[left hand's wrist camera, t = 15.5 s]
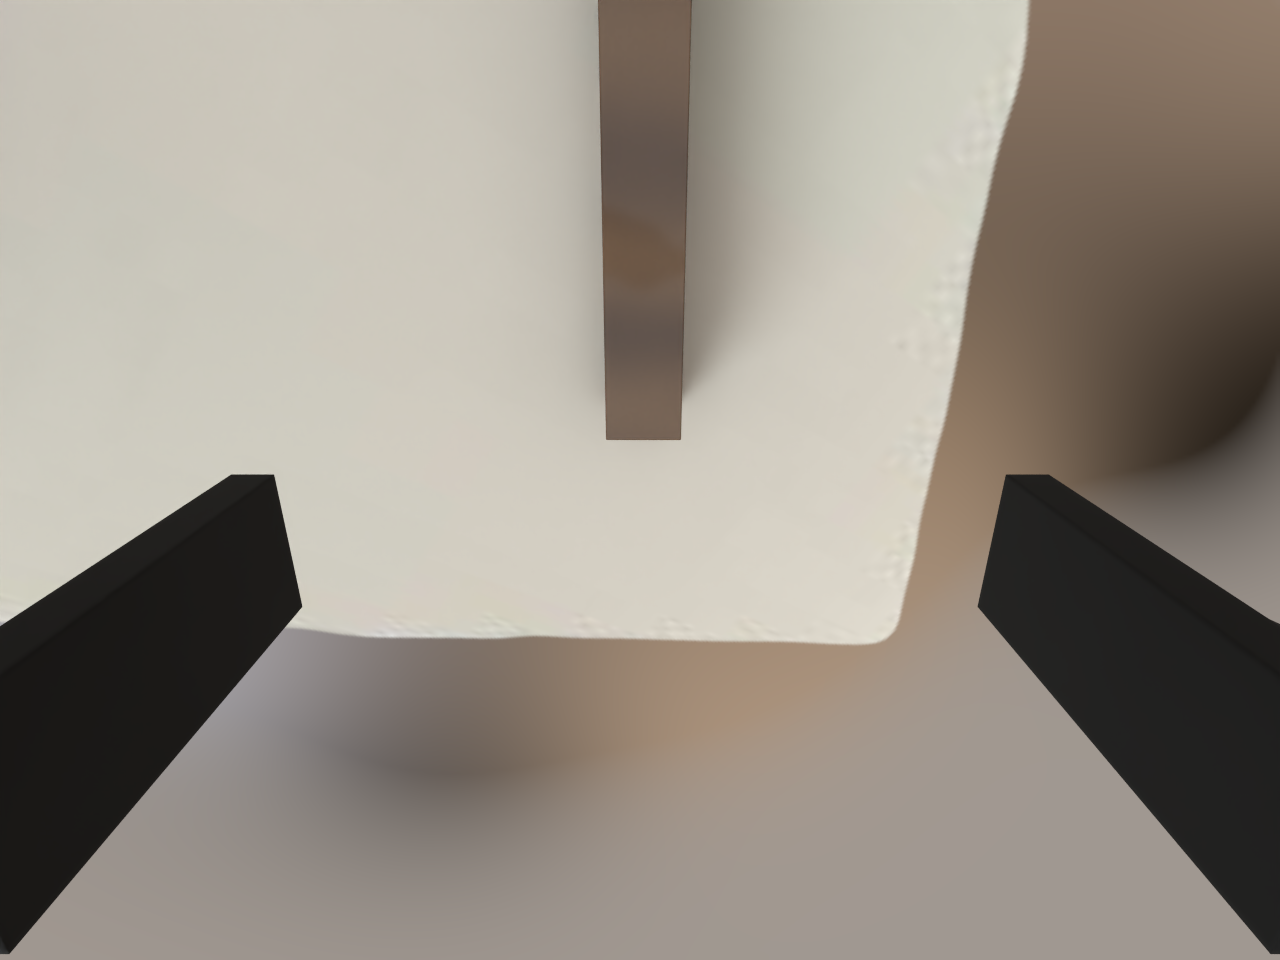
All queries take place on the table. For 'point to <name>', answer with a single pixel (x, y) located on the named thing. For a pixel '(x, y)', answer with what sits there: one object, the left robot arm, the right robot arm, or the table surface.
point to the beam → (644, 211)
